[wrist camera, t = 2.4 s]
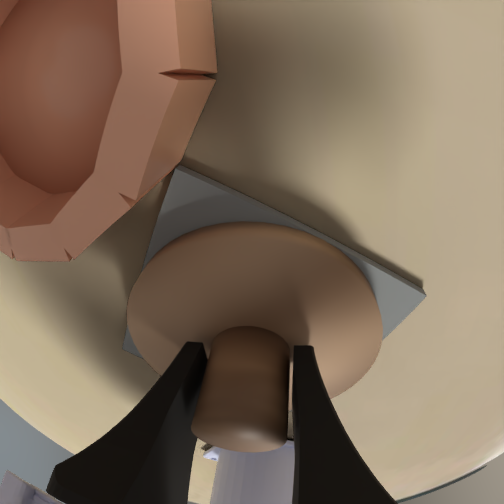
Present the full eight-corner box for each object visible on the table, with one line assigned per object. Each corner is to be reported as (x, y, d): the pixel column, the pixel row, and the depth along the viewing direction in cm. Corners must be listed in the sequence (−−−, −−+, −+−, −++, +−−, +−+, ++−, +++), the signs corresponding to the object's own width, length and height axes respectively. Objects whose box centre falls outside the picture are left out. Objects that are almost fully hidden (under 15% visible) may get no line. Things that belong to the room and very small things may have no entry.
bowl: (280, -34, 5) (277, -86, 3) (147, 259, 11) (110, 317, 8) (29, -54, 4) (-22, -61, 1) (-27, 165, 9) (-71, 192, 7)
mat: (423, 289, 10) (426, 296, 10) (294, 406, 16) (293, 411, 15) (179, 164, 9) (175, 168, 8) (125, 343, 14) (122, 349, 14)
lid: (426, 296, 10) (467, 394, 6) (293, 411, 15) (290, 484, 11) (176, 168, 9) (92, 248, 5) (122, 348, 14) (87, 422, 10)
